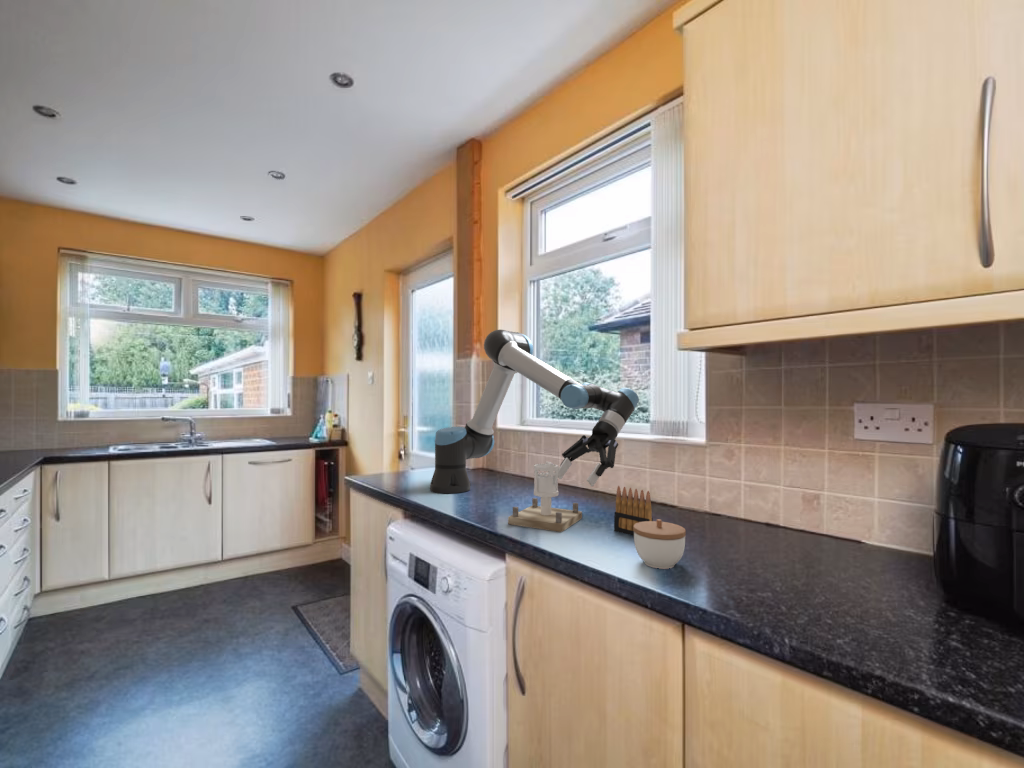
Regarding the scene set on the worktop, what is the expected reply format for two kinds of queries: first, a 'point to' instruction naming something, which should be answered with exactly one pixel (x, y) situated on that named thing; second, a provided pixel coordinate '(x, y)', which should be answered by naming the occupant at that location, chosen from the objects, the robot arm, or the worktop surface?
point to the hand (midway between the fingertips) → (573, 479)
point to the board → (545, 517)
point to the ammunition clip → (631, 510)
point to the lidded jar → (659, 543)
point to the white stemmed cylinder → (546, 485)
